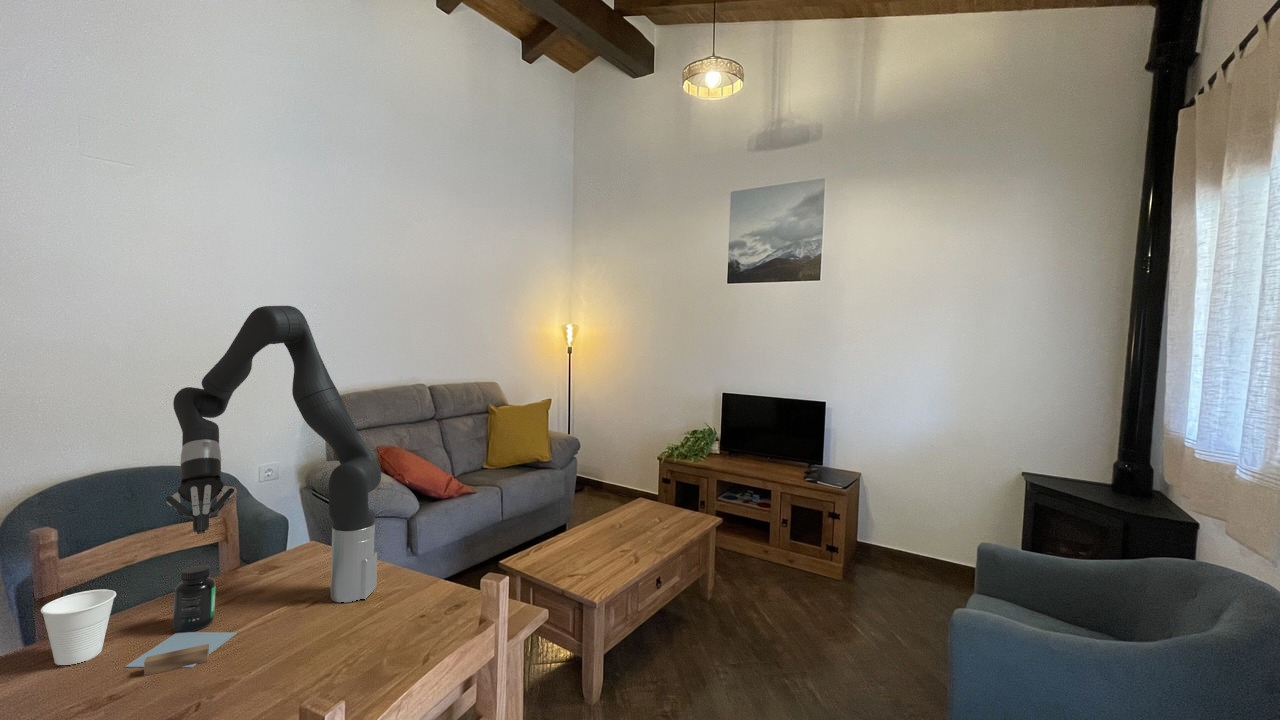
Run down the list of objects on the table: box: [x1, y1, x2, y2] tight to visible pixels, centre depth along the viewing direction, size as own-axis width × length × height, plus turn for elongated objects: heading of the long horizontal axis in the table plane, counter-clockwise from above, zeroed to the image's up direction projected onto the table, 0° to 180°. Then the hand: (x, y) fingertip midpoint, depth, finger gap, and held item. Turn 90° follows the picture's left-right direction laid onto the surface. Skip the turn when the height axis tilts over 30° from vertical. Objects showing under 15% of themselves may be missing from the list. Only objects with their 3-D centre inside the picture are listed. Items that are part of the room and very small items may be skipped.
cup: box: [40, 588, 117, 666], centre depth 101 cm, size 10×10×11 cm
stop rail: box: [143, 644, 210, 677], centre depth 99 cm, size 9×2×2 cm, turn 123°
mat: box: [124, 631, 238, 669], centre depth 105 cm, size 12×12×1 cm
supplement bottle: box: [172, 564, 217, 633], centre depth 114 cm, size 7×7×12 cm
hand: (201, 532), depth 121 cm, fingers closed
